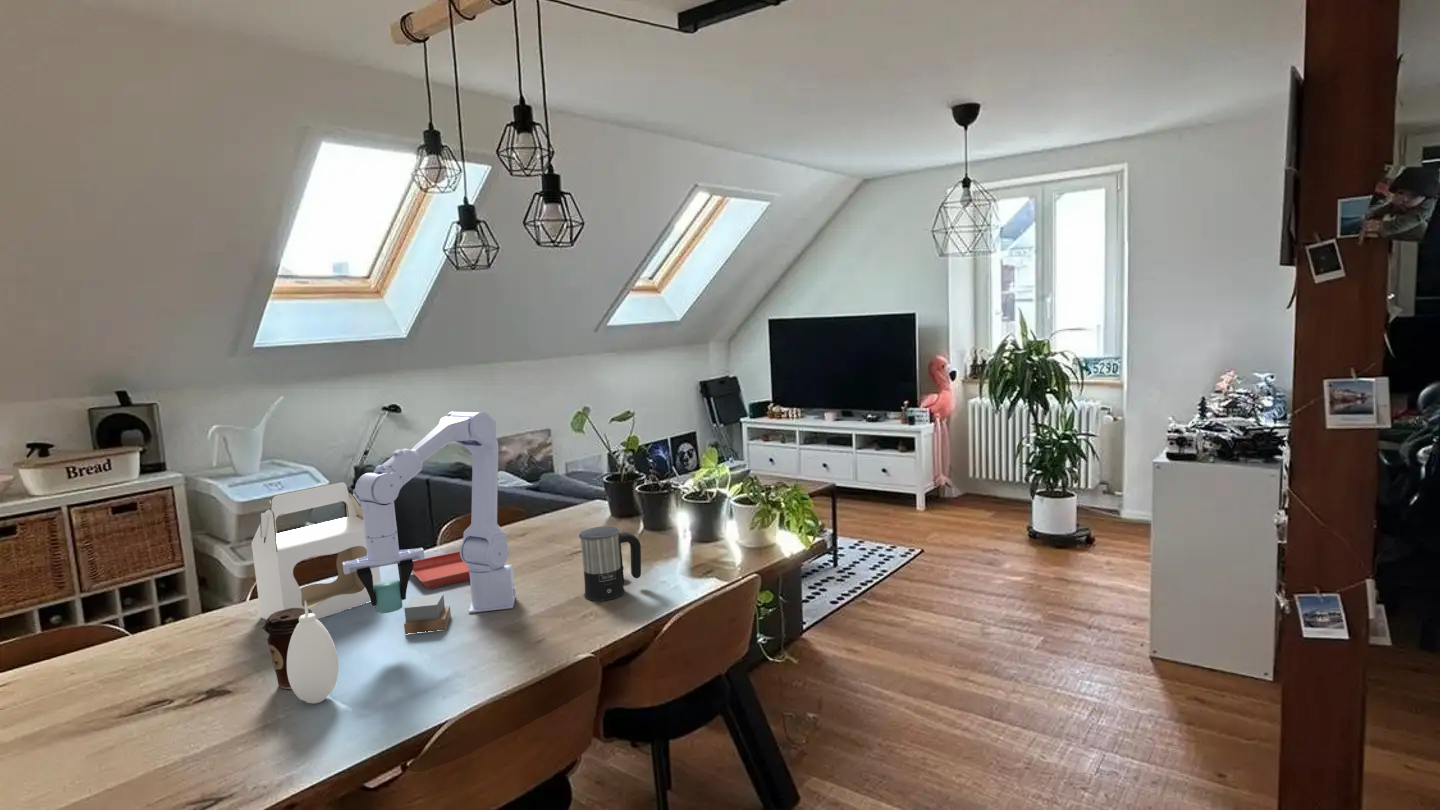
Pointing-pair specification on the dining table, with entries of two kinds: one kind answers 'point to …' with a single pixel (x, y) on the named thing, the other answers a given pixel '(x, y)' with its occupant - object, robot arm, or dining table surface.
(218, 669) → the dining table surface
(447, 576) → the plant saucer
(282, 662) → the coffee cup
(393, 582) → the teal cylinder
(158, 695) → the dining table surface
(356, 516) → the gable box
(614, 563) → the milk frother
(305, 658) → the sauce bottle
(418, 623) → the walnut slab
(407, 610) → the gray block
